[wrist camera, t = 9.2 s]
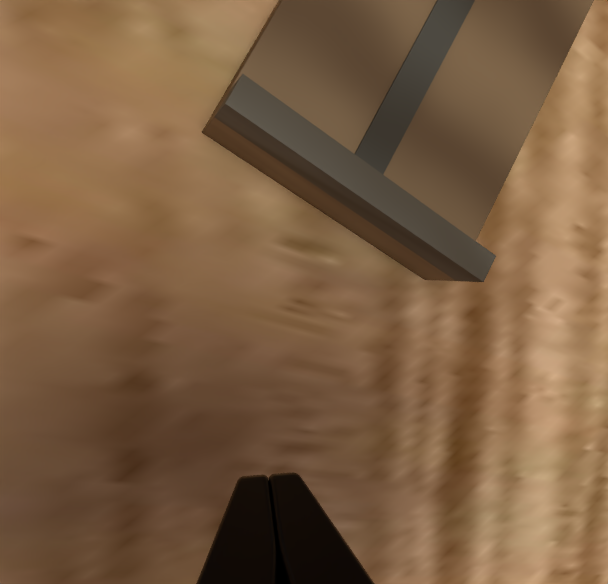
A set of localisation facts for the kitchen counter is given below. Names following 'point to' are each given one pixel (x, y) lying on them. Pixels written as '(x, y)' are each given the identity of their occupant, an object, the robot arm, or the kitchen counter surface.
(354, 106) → the panel
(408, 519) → the kitchen counter surface
